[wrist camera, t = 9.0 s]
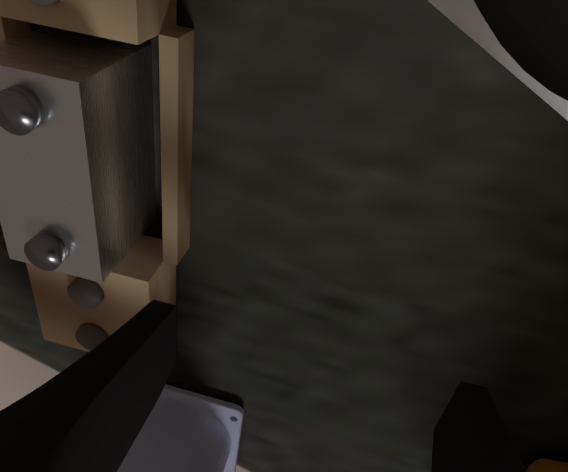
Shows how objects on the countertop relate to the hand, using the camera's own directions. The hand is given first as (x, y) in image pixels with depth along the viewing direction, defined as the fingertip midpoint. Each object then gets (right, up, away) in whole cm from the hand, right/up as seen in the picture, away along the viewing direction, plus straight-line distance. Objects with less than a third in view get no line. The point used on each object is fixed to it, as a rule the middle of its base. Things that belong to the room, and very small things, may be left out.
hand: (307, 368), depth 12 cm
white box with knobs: (-8, +8, +9) cm, 14 cm away
